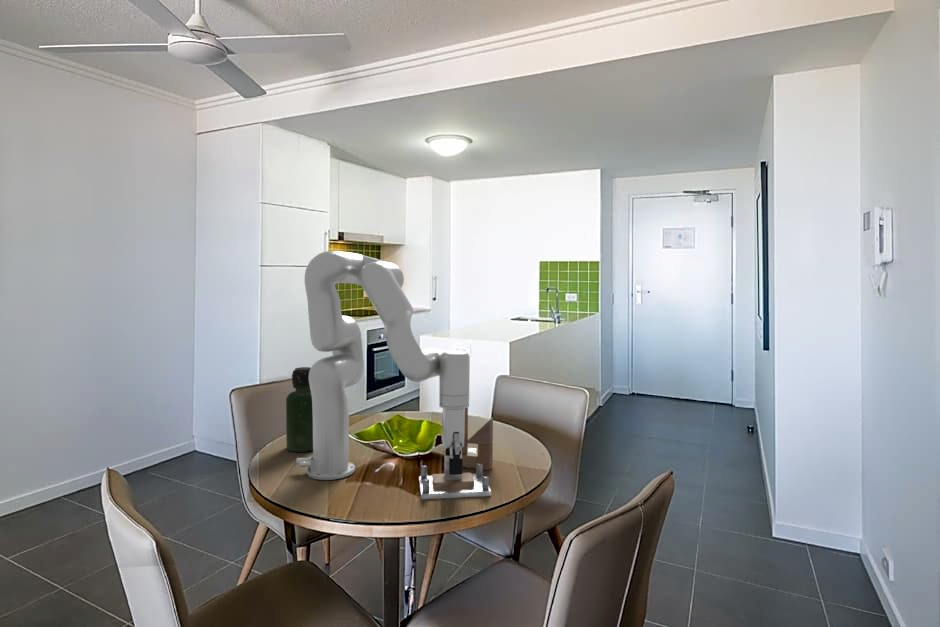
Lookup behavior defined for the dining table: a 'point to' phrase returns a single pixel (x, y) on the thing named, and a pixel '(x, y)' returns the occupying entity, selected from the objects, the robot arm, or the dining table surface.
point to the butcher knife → (472, 450)
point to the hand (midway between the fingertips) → (453, 467)
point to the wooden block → (484, 446)
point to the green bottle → (299, 413)
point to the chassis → (478, 490)
